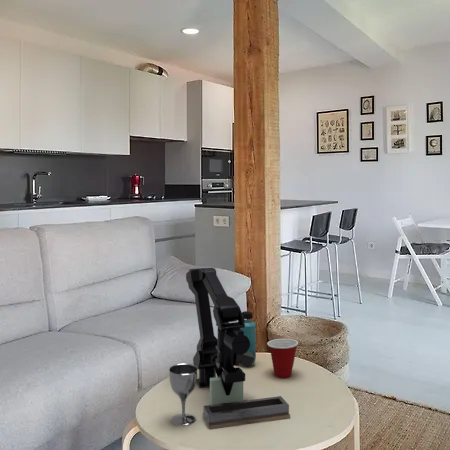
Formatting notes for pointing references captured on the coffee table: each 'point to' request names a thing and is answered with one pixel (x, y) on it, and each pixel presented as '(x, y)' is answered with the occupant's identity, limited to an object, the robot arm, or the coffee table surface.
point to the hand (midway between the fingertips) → (226, 393)
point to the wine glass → (183, 389)
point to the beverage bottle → (250, 332)
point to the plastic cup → (283, 356)
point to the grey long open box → (245, 412)
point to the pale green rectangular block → (219, 394)
